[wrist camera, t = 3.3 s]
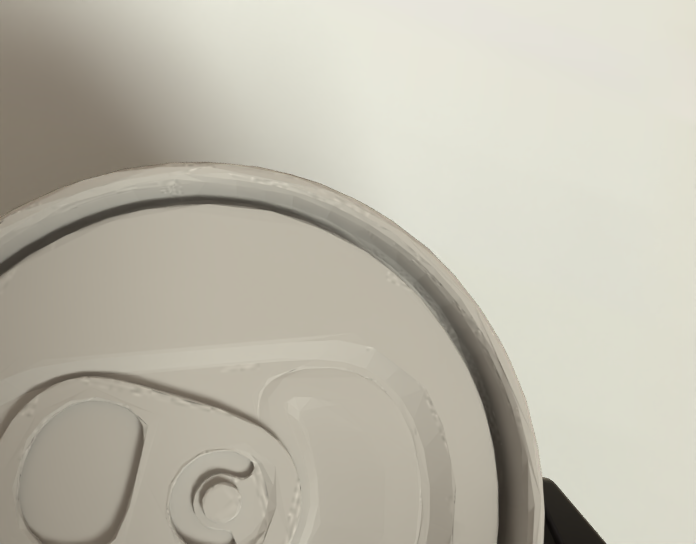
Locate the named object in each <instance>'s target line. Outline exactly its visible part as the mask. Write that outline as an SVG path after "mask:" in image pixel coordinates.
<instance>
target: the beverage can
mask: <svg viewBox="0 0 696 544" xmlns="http://www.w3.org/2000/svg"><path fill="white" fill-rule="evenodd" d="M544 518H545V510H544V495H543V480H542V473H541V466H540V458H539V451H538V445H537V441H536V437H535V433H534V429H533V425H532V421H531V417H530V413H529V409H528V405H527V401H526V398H525V396H524V393H523V391H522V388H521V386H520V383H519V381H518V378H517V376H516V374H515V371H514V369H513V366H512V364H511V362H510V359H509V357H508V355H507V353H506V351H505V349H504V347H503V345H502V343H501V341H500V340H499V338H498V336H497V335H496V333H495V331H494V330H493V328H492V326H491V325H490V323H489V321H488V320H487V318H486V316H485V315H484V313H483V312H482V310H481V309H480V307H479V306H478V305H477V303H476V302H475V301H474V299H473V298H472V297H471V296H470V294H469V293H468V292H467V290H466V289H465V288H464V287H463V285H462V284H461V283H460V282H459V280H458V279H457V278H456V276H455V275H454V274H453V273H452V272H451V271H450V270H449V269H448V268H447V267H446V266H445V265H444V264H443V263H442V262H441V261H440V260H439V259H438V258H437V257H436V256H435V255H434V254H433V253H432V252H431V251H430V250H429V249H428V248H427V247H426V246H424V245H423V244H422V243H421V242H419V241H418V240H417V239H415V238H414V237H413V236H412V235H410V234H409V233H408V232H406V231H405V230H404V229H402V228H401V227H400V226H399V225H397V224H396V223H395V222H393V221H392V220H390V219H389V218H387V217H385V216H384V215H382V214H380V213H379V212H377V211H375V210H374V209H372V208H371V207H369V206H367V205H365V204H364V203H362V202H360V201H358V200H356V199H354V198H352V197H349V196H347V195H345V194H343V193H340V192H338V191H336V190H334V189H331V188H329V187H327V186H325V185H322V184H320V183H317V182H314V181H310V180H307V179H304V178H301V177H297V176H294V175H291V174H287V173H283V172H278V171H274V170H269V169H265V168H261V167H254V166H245V165H236V164H226V163H210V162H190V163H167V164H159V165H151V166H144V167H136V168H128V169H122V170H118V171H115V172H111V173H107V174H104V175H100V176H96V177H93V178H89V179H86V180H82V181H79V182H76V183H73V184H70V185H67V186H65V187H62V188H59V189H57V190H54V191H52V192H50V193H48V194H46V195H43V196H41V197H39V198H37V199H35V200H32V201H30V202H28V203H26V204H24V205H22V206H20V207H18V208H16V209H14V210H12V211H10V212H9V213H7V214H5V215H4V216H2V217H0V544H543V542H544Z"/></svg>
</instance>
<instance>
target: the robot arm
mask: <svg viewBox="0 0 696 544" xmlns="http://www.w3.org/2000/svg"><path fill="white" fill-rule="evenodd" d="M542 480H543V495H544V510H545V518H544V542H543V544H606V543H605V541H604V540H603V539H602V538H601V537H600V535H599V534H598V533H597V532H596V531H595V530H594V528H593V527H592V526H591V525H590V524H589V523H588V521H587V520H586V519H585V518H584V517H583V516H582V514H581V513H580V512H579V511H578V510H577V509H576V507H575V506H574V505H573V504H572V503H571V501H570V500H569V499H568V498H567V497H566V496H565V494H564V493H563V492H562V491H561V490H560V489H559V487H558V486H557V485H556V484H555V483H554V482H553V481H552V480H550V479H548V478H545V477H542Z"/></svg>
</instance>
